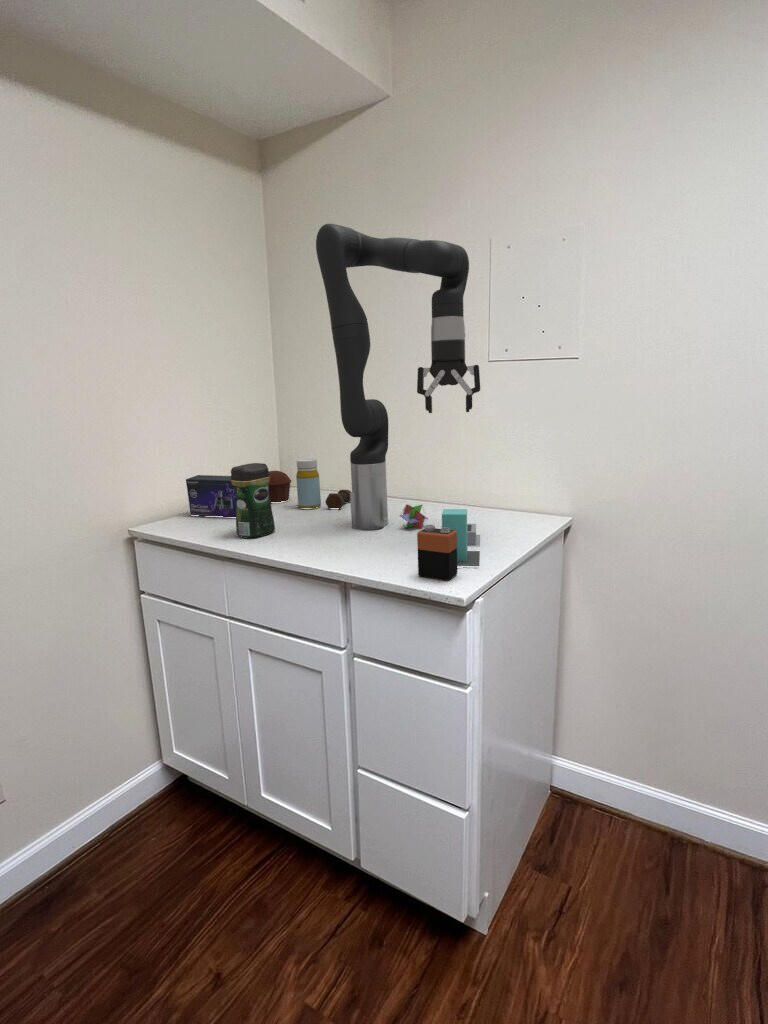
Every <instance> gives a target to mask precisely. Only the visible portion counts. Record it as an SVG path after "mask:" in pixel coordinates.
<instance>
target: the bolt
mask: <svg viewBox="0 0 768 1024" xmlns="http://www.w3.org/2000/svg"><path fill="white" fill-rule="evenodd" d="M351 492H352V490H349V489H339V491H338V492H337V493H336V492H334V493H333V492H330V493H329V494H328V495H327V496H326V499H325V502H324V503H325V505H326V506H327V508H328V509H329V508H341V509H342V507H343V505H344V504H345V503H344V502H349V503H350V502H351V501H350V493H351Z"/></svg>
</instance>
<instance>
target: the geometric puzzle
mask: <svg viewBox="0 0 768 1024" xmlns="http://www.w3.org/2000/svg"><path fill="white" fill-rule="evenodd" d="M422 508H423V511H424V514H422V513H421V511H422ZM425 514H426V511H425V508H424V505H423V504H420V503H419V504H415V506H412V505H411V504H407V503H406V504H405V506H404V507H403V509H402V511H401V513H400V515H399V518H400V520H402V521H403V522H405V521H406V522H407V523H406V527H405V524H402V525H403V527H405V529H409V528H412V527H415V528H417V529H419V530H423V527H424V526H425V524H426V523H425V521H428V519H429V517H428V516H426V515H425ZM401 518H402V519H401Z"/></svg>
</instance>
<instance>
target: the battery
mask: <svg viewBox="0 0 768 1024" xmlns="http://www.w3.org/2000/svg"><path fill="white" fill-rule="evenodd" d="M416 541H417V545H416V546H417V575H418V576H419V577H421V578H428V579H433V578H434V579H436V580H440V579H442V580H441V581H447V580H448V581H450V580H451V579H452V577H453V578H455V576H457V575H458V568H457V567H458V566H457V532H456V531H455V530H449V528H448V527H443V528H436V526H435V524H426V525H423V528H422V529H420V531H418V532H417V533H416Z"/></svg>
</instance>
